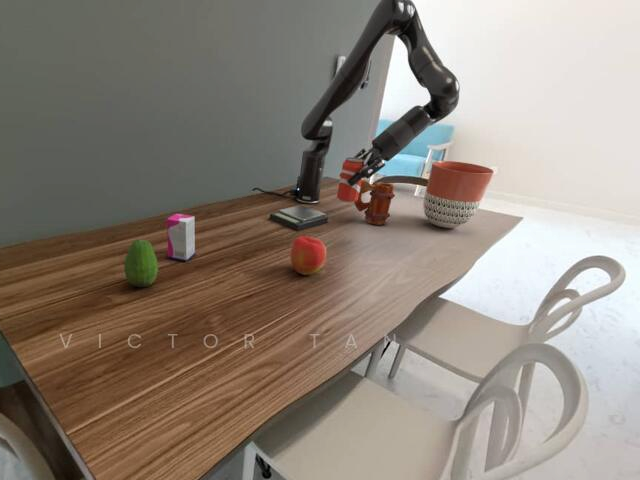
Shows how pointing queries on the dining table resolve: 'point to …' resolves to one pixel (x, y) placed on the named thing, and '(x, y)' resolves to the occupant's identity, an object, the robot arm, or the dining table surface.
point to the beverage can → (348, 170)
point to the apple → (307, 255)
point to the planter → (454, 192)
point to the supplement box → (181, 237)
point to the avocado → (141, 264)
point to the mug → (376, 201)
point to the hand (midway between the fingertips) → (345, 180)
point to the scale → (296, 221)
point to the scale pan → (302, 213)
